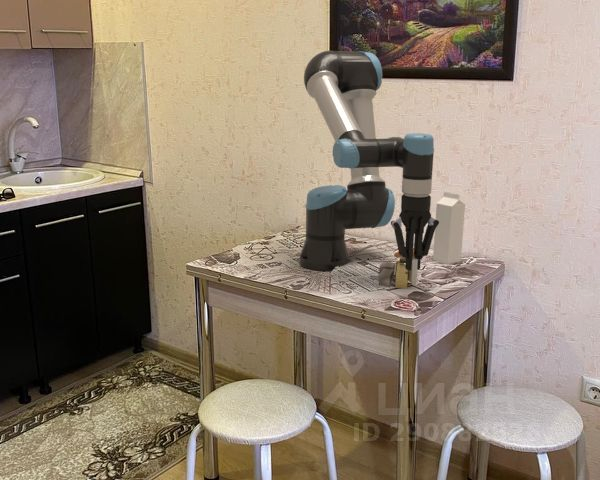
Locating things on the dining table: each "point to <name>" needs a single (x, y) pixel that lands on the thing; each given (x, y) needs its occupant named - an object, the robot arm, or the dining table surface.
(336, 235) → the robot arm
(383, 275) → the board
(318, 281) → the dining table surface
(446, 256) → the milk
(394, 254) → the pastry
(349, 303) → the dining table surface
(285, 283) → the dining table surface
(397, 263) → the latch bar
